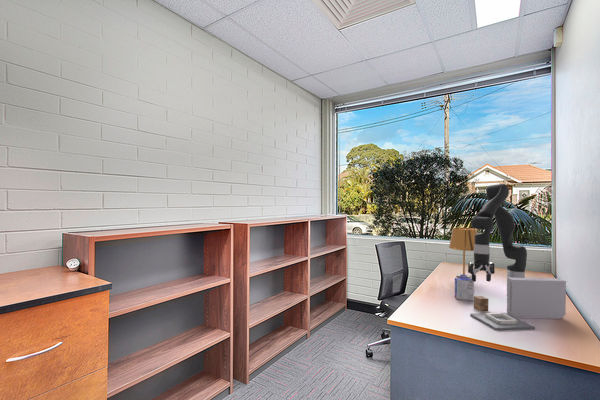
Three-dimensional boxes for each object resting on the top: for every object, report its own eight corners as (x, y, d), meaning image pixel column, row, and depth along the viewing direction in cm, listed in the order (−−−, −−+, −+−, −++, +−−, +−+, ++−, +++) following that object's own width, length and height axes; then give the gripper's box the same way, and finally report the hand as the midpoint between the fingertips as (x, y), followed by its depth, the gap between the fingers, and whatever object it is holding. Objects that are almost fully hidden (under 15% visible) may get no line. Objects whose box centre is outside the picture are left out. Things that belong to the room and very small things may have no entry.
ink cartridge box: (470, 297, 188) (471, 274, 188) (474, 300, 183) (474, 277, 183) (454, 296, 190) (454, 273, 190) (456, 299, 185) (457, 276, 185)
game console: (504, 313, 162) (505, 276, 162) (556, 314, 161) (556, 278, 162) (512, 317, 157) (512, 279, 157) (565, 319, 156) (565, 281, 156)
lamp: (480, 281, 227) (481, 228, 227) (479, 288, 209) (480, 230, 209) (449, 277, 238) (450, 226, 238) (446, 283, 221) (447, 228, 221)
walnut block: (481, 308, 170) (482, 295, 170) (488, 311, 165) (488, 298, 165) (473, 308, 170) (473, 296, 170) (479, 311, 165) (480, 298, 165)
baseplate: (505, 314, 160) (505, 309, 160) (534, 329, 142) (535, 323, 142) (470, 315, 158) (470, 310, 158) (496, 330, 140) (496, 324, 140)
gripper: (488, 251, 172) (488, 279, 172) (465, 251, 170) (464, 279, 170) (498, 253, 164) (497, 283, 164) (474, 253, 163) (473, 283, 163)
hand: (481, 281), depth 167 cm, fingers open, 8 cm apart
